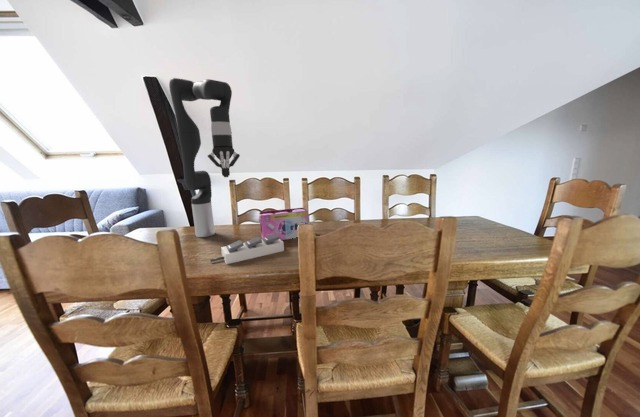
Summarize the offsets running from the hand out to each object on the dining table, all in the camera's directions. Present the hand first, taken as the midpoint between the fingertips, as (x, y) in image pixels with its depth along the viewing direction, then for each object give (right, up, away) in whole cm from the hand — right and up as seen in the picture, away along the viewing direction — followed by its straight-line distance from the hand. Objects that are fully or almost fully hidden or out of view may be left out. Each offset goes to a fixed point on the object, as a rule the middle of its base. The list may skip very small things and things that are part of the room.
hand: (226, 177), depth 106 cm
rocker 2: (+12, -28, -1) cm, 30 cm away
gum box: (+22, -28, +21) cm, 41 cm away
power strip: (+9, -33, 0) cm, 34 cm away
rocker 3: (+18, -27, +2) cm, 33 cm away
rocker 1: (+6, -29, -5) cm, 30 cm away
